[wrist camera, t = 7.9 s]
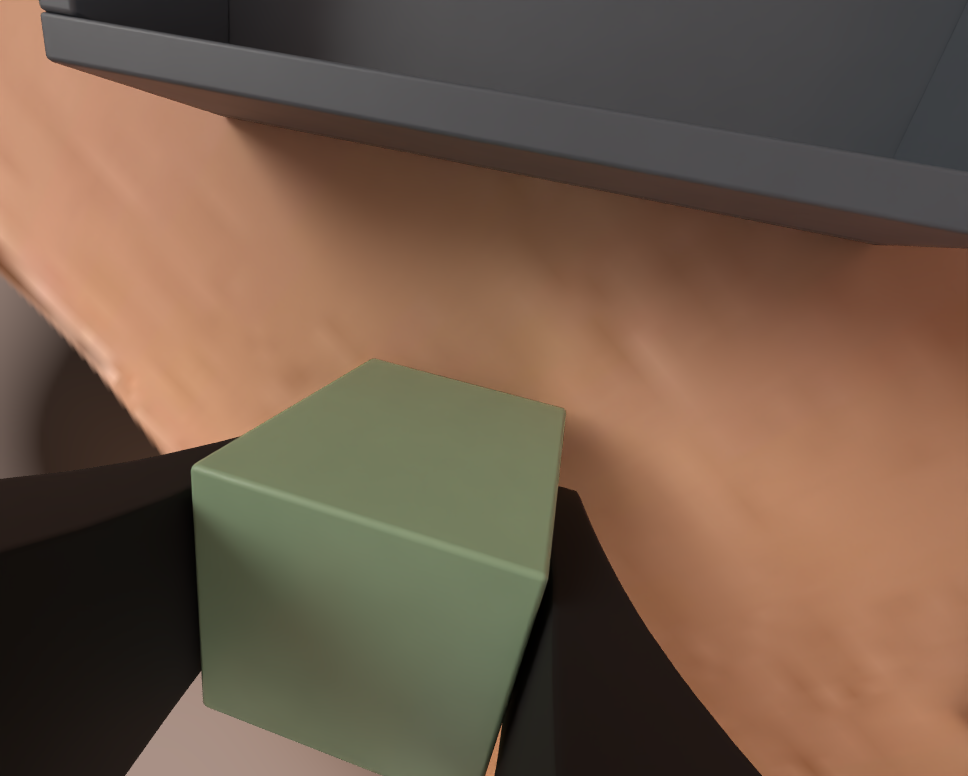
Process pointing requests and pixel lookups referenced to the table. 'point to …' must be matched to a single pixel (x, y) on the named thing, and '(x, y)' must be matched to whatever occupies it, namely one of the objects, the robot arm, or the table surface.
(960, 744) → the table surface
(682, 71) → the tub
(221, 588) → the block
